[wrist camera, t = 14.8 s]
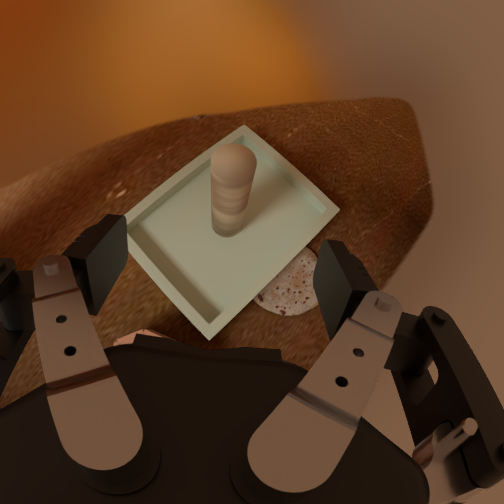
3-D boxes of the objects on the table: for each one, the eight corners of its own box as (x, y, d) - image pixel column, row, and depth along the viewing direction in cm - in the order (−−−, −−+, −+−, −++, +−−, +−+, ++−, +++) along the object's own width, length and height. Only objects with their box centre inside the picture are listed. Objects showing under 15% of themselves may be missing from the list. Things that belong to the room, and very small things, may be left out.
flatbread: (231, 290, 29) (231, 289, 28) (268, 227, 31) (269, 224, 30) (304, 331, 28) (307, 330, 28) (335, 266, 31) (339, 263, 30)
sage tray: (209, 340, 27) (209, 340, 25) (117, 236, 29) (110, 227, 26) (331, 218, 32) (340, 209, 30) (242, 137, 34) (244, 124, 31)
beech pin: (206, 215, 29) (203, 151, 19) (234, 204, 30) (245, 138, 20) (218, 242, 29) (221, 187, 18) (247, 230, 29) (264, 172, 19)
